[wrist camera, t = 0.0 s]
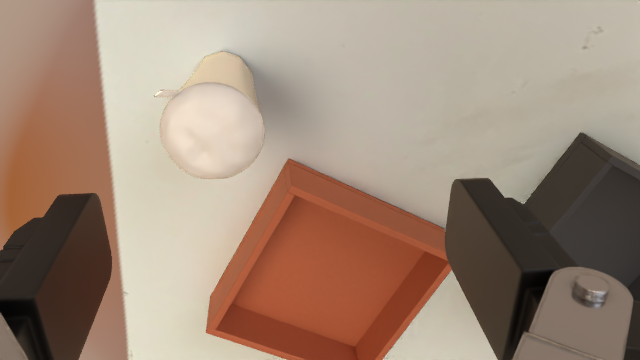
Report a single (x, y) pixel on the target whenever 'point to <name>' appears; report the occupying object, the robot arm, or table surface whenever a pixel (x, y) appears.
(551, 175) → the grey bin
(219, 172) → the milkshake
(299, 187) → the terracotta bin
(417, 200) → the table surface
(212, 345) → the table surface
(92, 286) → the robot arm
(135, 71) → the table surface
